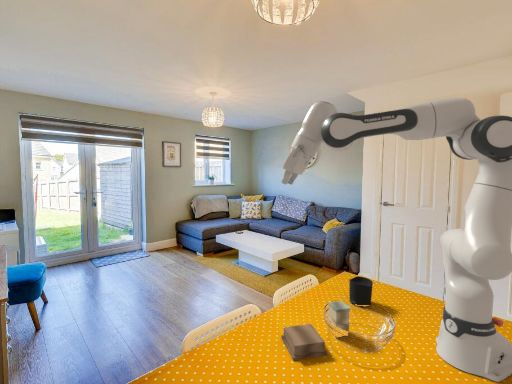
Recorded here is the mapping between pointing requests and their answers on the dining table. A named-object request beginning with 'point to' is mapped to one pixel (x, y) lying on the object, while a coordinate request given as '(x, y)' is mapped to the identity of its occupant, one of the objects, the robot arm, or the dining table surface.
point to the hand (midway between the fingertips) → (286, 183)
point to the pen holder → (360, 290)
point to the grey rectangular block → (339, 315)
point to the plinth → (303, 342)
